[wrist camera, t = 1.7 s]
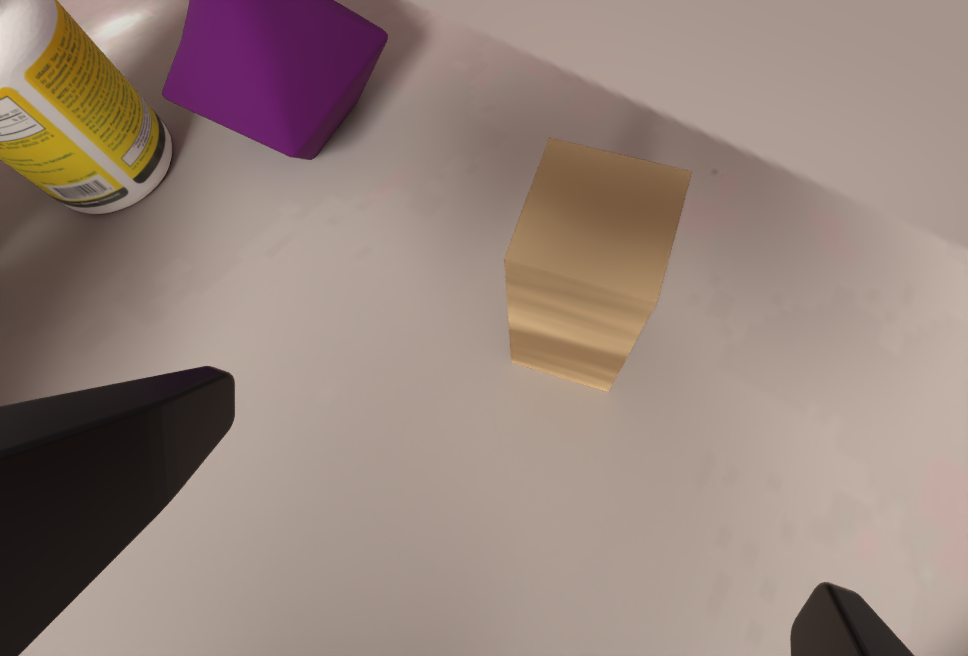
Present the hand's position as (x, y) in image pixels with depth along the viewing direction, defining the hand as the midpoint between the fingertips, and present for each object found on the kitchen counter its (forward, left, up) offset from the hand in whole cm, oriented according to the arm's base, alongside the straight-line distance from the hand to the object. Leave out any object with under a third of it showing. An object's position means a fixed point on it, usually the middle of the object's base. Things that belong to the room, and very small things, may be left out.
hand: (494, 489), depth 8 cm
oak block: (+6, +5, -13) cm, 16 cm away
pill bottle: (-7, +25, -14) cm, 29 cm away
